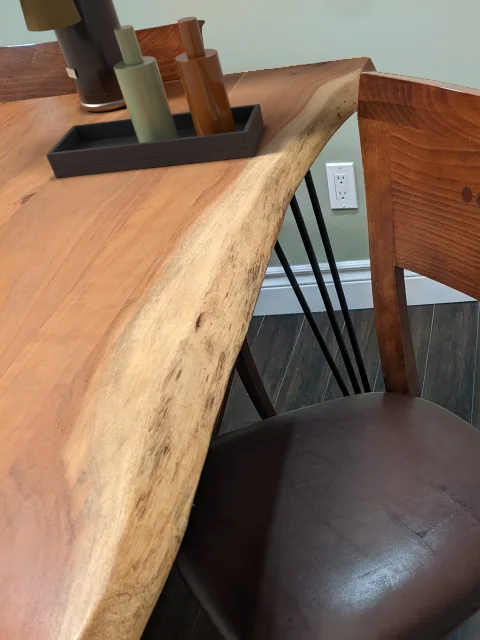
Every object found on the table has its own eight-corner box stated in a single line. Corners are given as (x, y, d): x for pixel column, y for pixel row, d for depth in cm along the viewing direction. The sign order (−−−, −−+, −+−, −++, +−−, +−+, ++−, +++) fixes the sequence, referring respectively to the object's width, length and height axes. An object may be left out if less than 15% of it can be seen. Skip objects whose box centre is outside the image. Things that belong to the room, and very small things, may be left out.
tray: (55, 178, 86) (45, 154, 84) (82, 147, 93) (73, 125, 91) (253, 156, 84) (247, 131, 82) (264, 127, 91) (259, 103, 89)
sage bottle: (148, 138, 90) (111, 23, 81) (184, 135, 89) (151, 19, 80) (135, 152, 86) (94, 35, 77) (172, 149, 86) (136, 31, 77)
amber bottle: (204, 131, 89) (172, 15, 80) (241, 128, 88) (213, 11, 79) (193, 146, 86) (158, 27, 77) (231, 143, 85) (201, 22, 76)
